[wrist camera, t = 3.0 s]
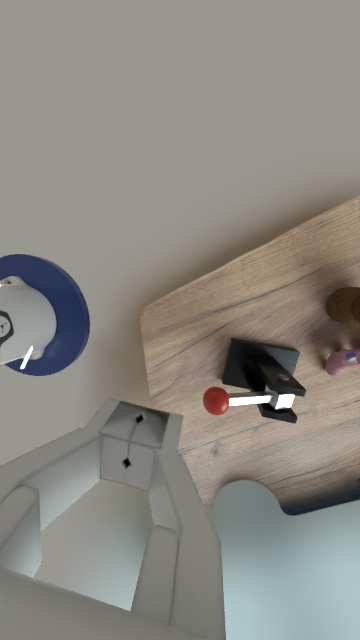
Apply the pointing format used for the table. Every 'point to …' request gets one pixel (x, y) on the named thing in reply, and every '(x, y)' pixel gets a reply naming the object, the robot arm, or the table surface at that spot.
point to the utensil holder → (345, 306)
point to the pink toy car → (342, 360)
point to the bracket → (263, 373)
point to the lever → (243, 399)
